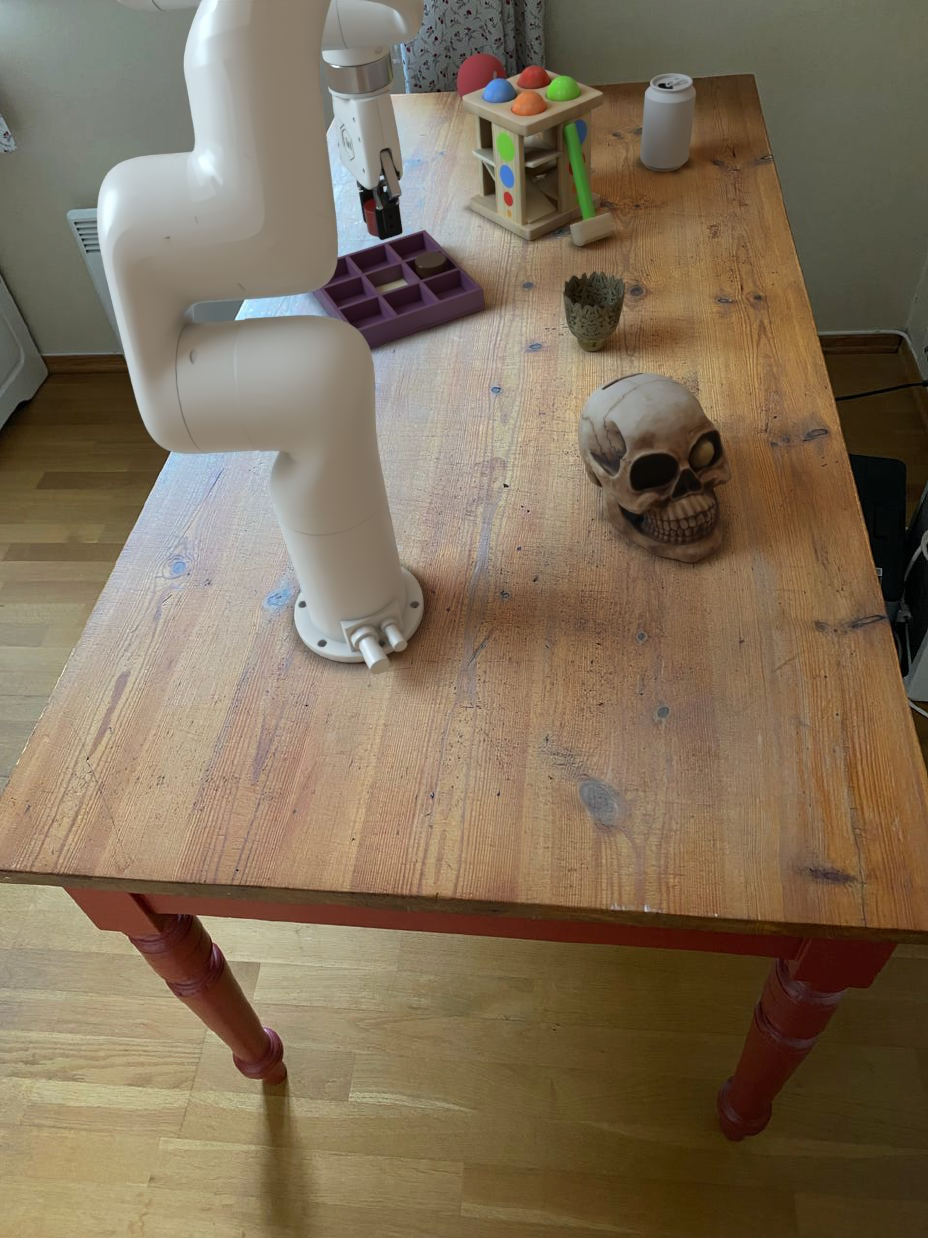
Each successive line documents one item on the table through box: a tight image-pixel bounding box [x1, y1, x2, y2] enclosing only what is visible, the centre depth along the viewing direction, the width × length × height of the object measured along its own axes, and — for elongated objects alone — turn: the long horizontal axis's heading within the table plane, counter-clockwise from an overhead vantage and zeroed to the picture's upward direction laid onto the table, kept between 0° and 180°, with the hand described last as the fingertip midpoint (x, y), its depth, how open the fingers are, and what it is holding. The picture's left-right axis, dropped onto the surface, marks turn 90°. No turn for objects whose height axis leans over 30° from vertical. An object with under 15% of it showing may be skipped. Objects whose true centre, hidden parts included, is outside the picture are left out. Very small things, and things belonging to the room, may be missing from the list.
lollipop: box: [456, 52, 507, 102], centre depth 141 cm, size 8×8×15 cm
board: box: [311, 229, 485, 349], centre depth 121 cm, size 19×19×3 cm
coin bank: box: [577, 372, 733, 563], centre depth 90 cm, size 16×17×13 cm
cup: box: [562, 270, 626, 352], centre depth 109 cm, size 8×7×8 cm
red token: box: [364, 198, 379, 238], centre depth 113 cm, size 4×4×3 cm
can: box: [639, 72, 697, 173], centre depth 136 cm, size 8×8×12 cm
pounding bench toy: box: [462, 65, 615, 247], centre depth 126 cm, size 23×14×18 cm, turn 38°
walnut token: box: [415, 251, 447, 280], centre depth 122 cm, size 4×4×3 cm
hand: (383, 226), depth 114 cm, fingers closed on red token, 4 cm apart
